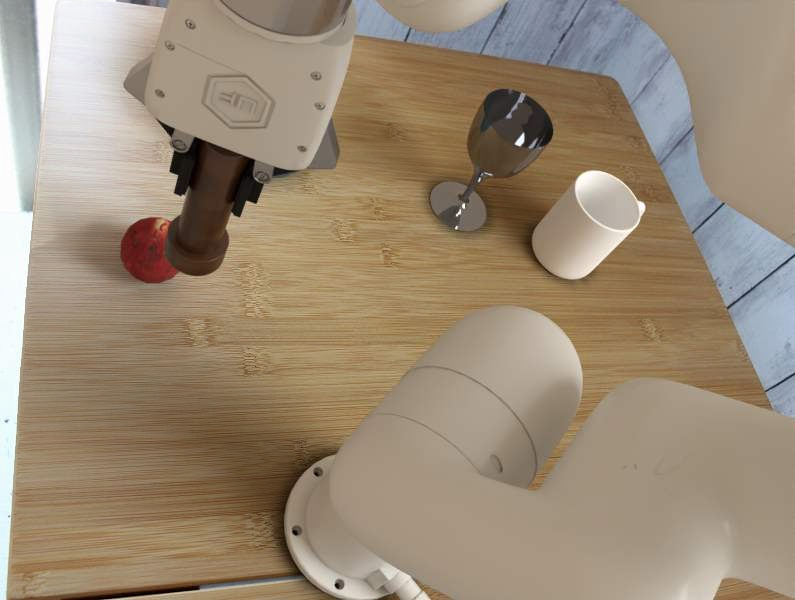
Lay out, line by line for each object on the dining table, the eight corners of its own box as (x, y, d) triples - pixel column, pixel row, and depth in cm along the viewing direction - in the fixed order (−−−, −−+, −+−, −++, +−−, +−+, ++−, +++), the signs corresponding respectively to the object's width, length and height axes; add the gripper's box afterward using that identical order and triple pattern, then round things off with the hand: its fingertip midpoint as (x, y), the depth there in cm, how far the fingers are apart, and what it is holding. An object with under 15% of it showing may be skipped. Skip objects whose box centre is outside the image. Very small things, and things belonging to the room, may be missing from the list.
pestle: (235, 259, 63) (278, 148, 52) (188, 286, 60) (224, 175, 50) (199, 217, 63) (234, 100, 53) (151, 242, 61) (178, 123, 50)
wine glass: (415, 182, 96) (470, 90, 84) (471, 175, 100) (531, 86, 88) (444, 239, 93) (505, 152, 81) (500, 229, 97) (566, 144, 85)
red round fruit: (168, 308, 76) (181, 260, 70) (106, 285, 75) (114, 235, 69) (189, 260, 80) (204, 210, 73) (131, 237, 79) (140, 185, 72)
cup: (518, 226, 98) (562, 172, 90) (595, 217, 104) (642, 165, 96) (548, 286, 95) (596, 235, 87) (625, 272, 101) (677, 224, 93)
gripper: (89, -61, 37) (68, 187, 52) (423, 80, 41) (316, 275, 55) (144, -144, 42) (111, 106, 56) (442, -10, 45) (338, 193, 60)
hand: (213, 188), depth 56 cm, fingers closed on pestle, 3 cm apart
